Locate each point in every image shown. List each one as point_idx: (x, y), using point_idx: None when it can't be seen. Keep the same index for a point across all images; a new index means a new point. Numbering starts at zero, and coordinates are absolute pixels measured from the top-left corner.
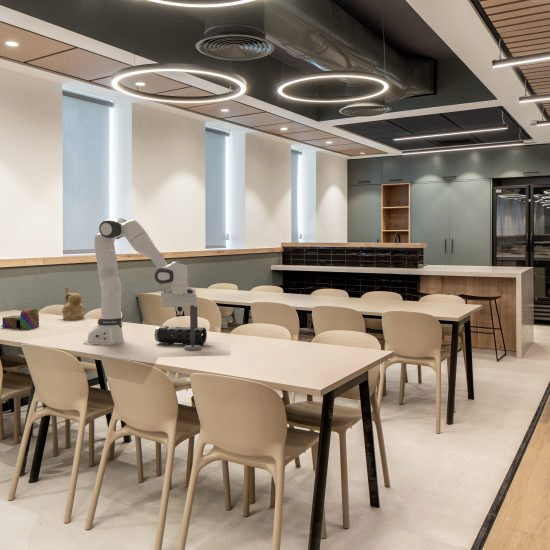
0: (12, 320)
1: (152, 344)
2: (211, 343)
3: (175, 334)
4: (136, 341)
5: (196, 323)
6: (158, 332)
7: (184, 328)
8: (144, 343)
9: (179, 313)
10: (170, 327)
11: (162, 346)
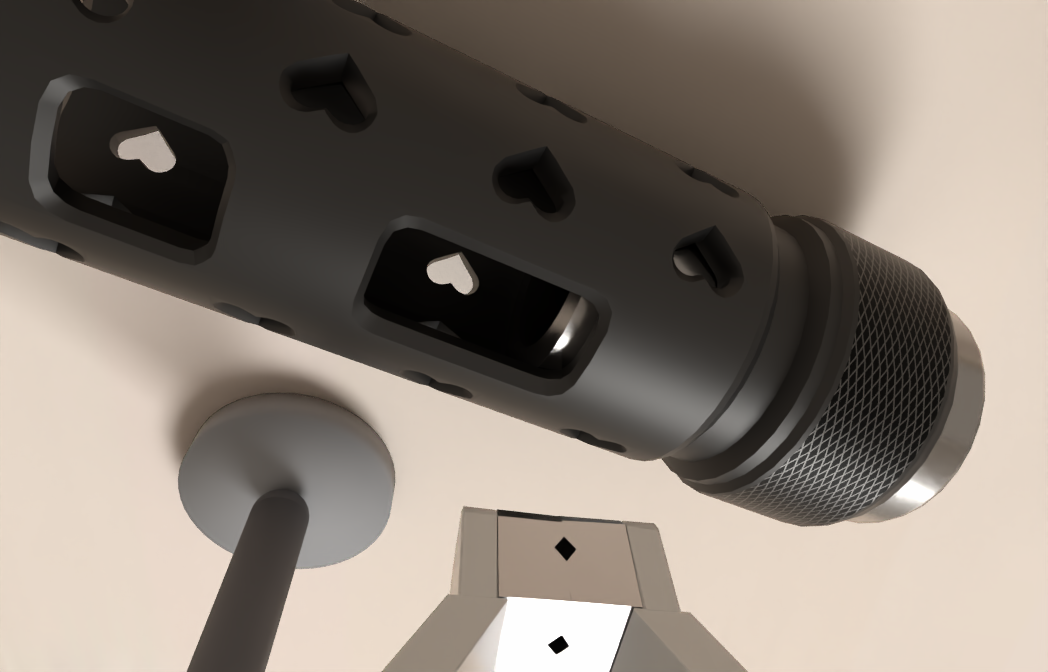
0: None
1: None
2: None
3: (629, 149)
4: (995, 521)
5: (201, 659)
6: (938, 302)
7: (428, 208)
8: None
9: (575, 545)
10: (730, 368)
11: (809, 88)
